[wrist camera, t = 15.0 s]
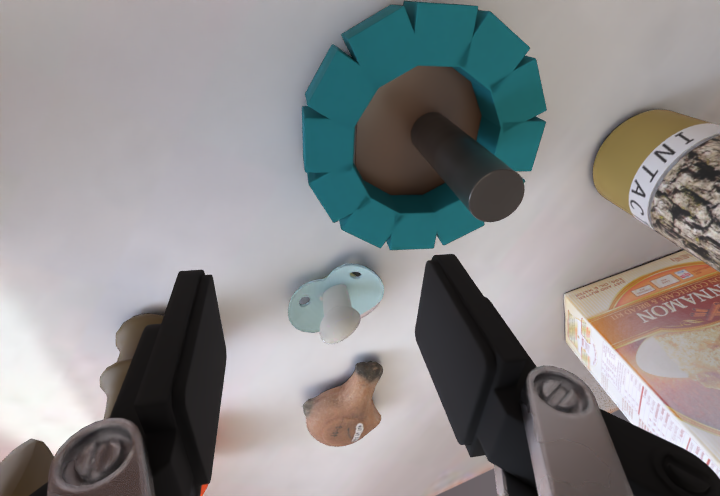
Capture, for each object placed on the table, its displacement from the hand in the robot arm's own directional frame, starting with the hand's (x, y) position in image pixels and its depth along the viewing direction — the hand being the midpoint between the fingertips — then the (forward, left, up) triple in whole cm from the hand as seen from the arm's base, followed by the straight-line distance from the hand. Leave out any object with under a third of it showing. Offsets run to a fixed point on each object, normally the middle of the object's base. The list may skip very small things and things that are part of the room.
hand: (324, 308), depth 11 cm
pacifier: (+3, -12, -16) cm, 20 cm away
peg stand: (+8, +1, -16) cm, 18 cm away
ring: (+7, +1, -14) cm, 16 cm away
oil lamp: (+4, -24, -16) cm, 29 cm away
